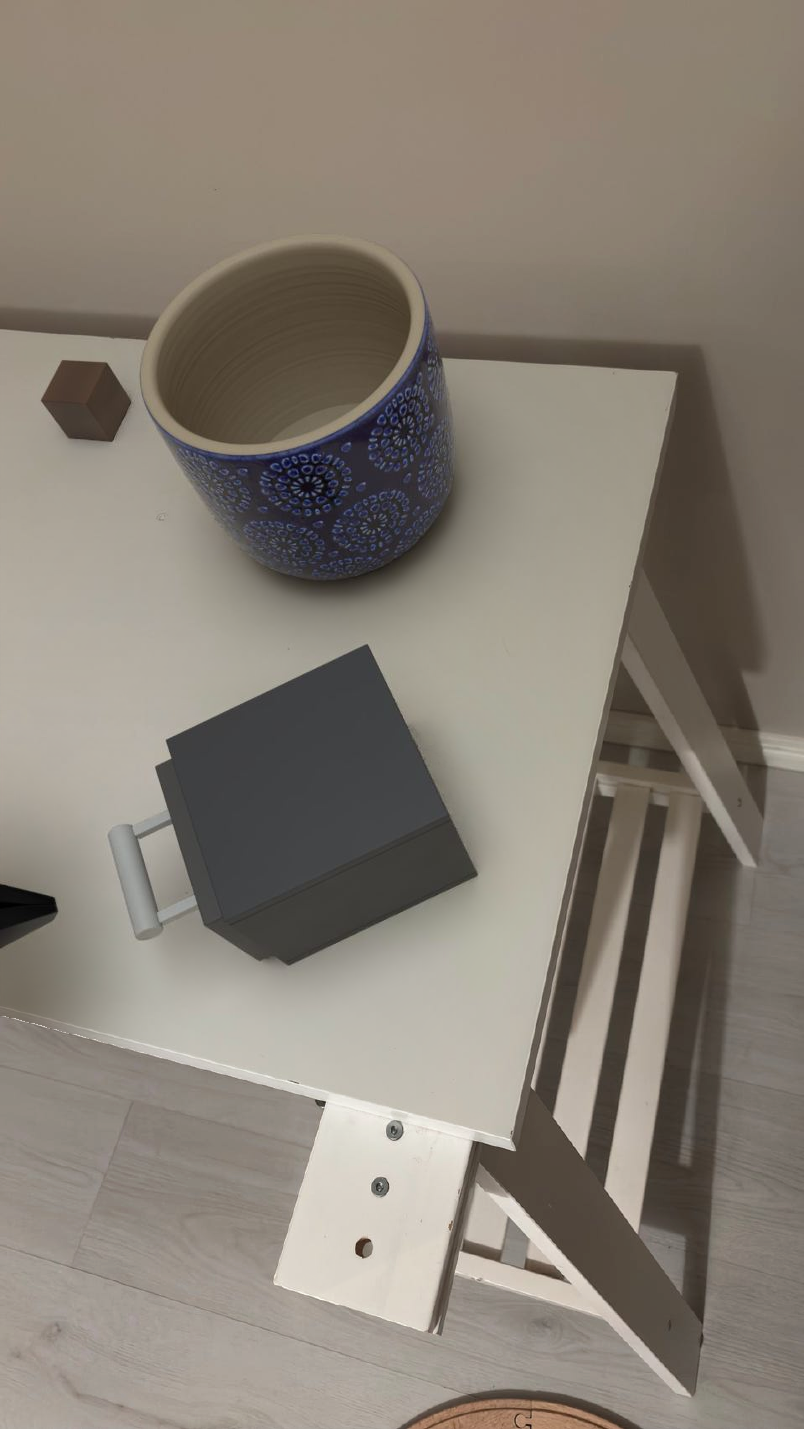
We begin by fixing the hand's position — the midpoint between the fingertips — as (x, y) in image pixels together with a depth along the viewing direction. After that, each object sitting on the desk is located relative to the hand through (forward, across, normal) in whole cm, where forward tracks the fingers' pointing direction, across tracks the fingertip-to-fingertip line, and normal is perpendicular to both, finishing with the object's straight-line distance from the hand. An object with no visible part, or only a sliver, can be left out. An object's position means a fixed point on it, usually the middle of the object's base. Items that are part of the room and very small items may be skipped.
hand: (55, 908), depth 49 cm
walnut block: (+11, +41, 0) cm, 42 cm away
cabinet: (+16, 0, -4) cm, 16 cm away
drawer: (+12, 0, -2) cm, 13 cm away
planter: (+22, +22, -10) cm, 33 cm away
